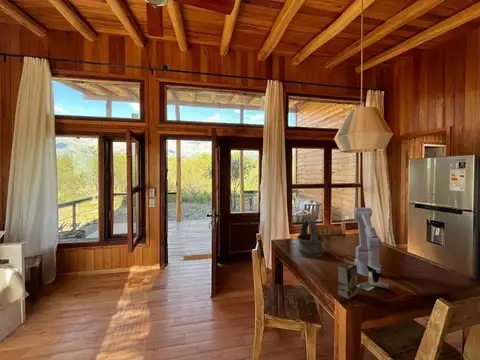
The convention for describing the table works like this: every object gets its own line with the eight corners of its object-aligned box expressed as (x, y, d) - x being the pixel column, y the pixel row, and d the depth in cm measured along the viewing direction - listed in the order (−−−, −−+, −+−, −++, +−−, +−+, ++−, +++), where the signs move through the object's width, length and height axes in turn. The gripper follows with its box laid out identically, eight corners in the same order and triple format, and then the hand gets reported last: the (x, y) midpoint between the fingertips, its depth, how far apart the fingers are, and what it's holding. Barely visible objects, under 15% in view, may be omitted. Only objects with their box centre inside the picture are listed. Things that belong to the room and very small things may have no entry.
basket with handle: (296, 258, 193) (296, 221, 192) (297, 249, 215) (296, 216, 215) (325, 260, 187) (325, 221, 187) (322, 250, 210) (322, 216, 209)
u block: (371, 285, 141) (371, 274, 141) (368, 281, 146) (368, 271, 146) (379, 285, 141) (379, 275, 140) (376, 281, 145) (376, 272, 145)
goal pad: (356, 286, 143) (356, 285, 143) (363, 283, 147) (363, 282, 147) (367, 291, 137) (367, 290, 137) (374, 287, 141) (374, 287, 141)
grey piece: (355, 285, 144) (355, 280, 144) (388, 285, 143) (388, 280, 143) (359, 289, 139) (359, 284, 139) (393, 290, 138) (393, 284, 138)
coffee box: (348, 299, 129) (348, 269, 129) (337, 294, 134) (337, 265, 134) (357, 293, 134) (357, 265, 134) (346, 289, 139) (346, 262, 139)
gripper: (386, 262, 135) (386, 286, 135) (376, 253, 149) (376, 275, 150) (373, 261, 136) (373, 285, 137) (364, 253, 151) (364, 274, 151)
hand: (374, 280), depth 143 cm, fingers closed on u block, 5 cm apart
